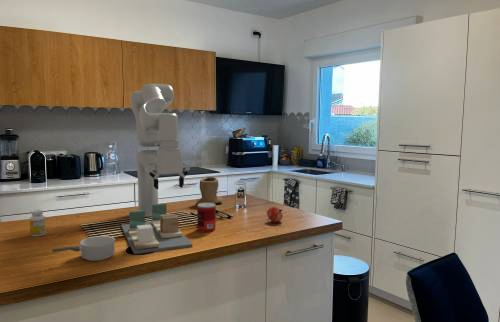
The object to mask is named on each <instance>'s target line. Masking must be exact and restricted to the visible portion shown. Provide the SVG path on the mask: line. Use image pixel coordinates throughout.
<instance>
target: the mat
mask: <svg viewBox="0 0 500 322" xmlns="http://www.w3.org/2000/svg"><path fill="white" fill-rule="evenodd" d="M149 224H150V225H151V226H152V224H151V221H145V225H149ZM120 226H121V230H122V231H123V234H124V235H125V238H126V240H127V242H128V244H129V247H130V248H131V251H132V253H133V255H137V254H138V255H140V254H146V253H148V254H149V253H155V252H156V253H157V252H163V251H169V250H178V249H184V248H193V243H192V242H191V240H189V239H188V238H187V237H186V236H185V235H184V234H183V233H182V236H177V237H169V238H161V236H160V235H159V234H158V232H157V231H156V230H155V228H154V227H153V226H152V227H153V235H154V237H155V238H156V239H157V241H158V242H159V247H152V248H145V249H136V247H135V245H134V243H133V241H132V239H131V236H130V235H129V233H128V229H130V223H121V225H120ZM133 236H134V235H133Z"/></svg>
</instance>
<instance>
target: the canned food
mask: <svg viewBox="0 0 500 322" xmlns="http://www.w3.org/2000/svg"><path fill="white" fill-rule="evenodd" d="M216 206H217V205H216V203H200V204H199V203H197V207H196V208H197V212H196V213H197V222H196V224H197V230H198V231H199V232H201V233H210V232H214V231H215V230H216V222H217V221H216V218H217V217H216V214H217V213H216V212H217V211H216V209H217V207H216Z"/></svg>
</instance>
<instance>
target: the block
mask: <svg viewBox="0 0 500 322" xmlns="http://www.w3.org/2000/svg"><path fill="white" fill-rule="evenodd" d="M137 240H138V241H139V243H141V242H150V241H153V227H152V226H151V225H150V224H149V225H139V226H137Z"/></svg>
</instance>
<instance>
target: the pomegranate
mask: <svg viewBox="0 0 500 322" xmlns="http://www.w3.org/2000/svg"><path fill="white" fill-rule="evenodd" d="M282 211H284V210H283V209H281V208H278V207H276V206H272V207H270V208H268V209H267V211H266V215H267V218H268V219H267V221H270V222H271V223H274V224H275V223H278V222H280V221H282V220H283V217H284V213H283V212H282Z"/></svg>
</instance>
